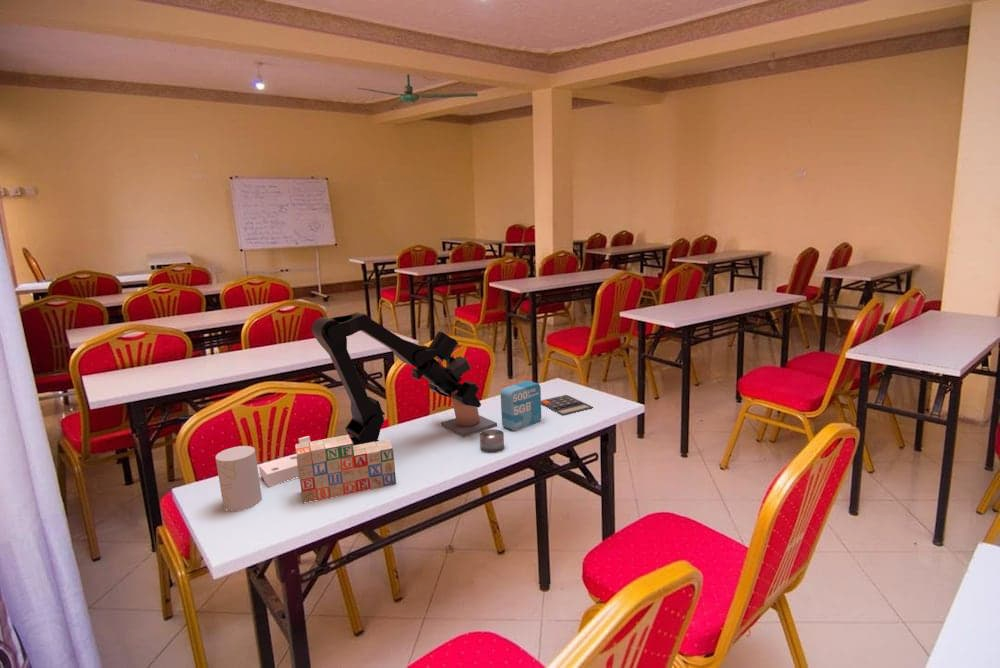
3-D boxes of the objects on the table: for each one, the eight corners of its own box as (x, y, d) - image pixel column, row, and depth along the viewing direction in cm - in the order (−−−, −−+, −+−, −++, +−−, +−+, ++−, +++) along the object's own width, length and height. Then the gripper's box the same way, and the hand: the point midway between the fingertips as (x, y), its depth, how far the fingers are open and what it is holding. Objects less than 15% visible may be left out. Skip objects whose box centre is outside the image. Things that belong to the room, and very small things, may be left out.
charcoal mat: (463, 437, 167) (463, 433, 167) (440, 425, 176) (440, 422, 176) (497, 426, 174) (496, 422, 174) (473, 415, 183) (473, 412, 183)
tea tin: (488, 454, 154) (487, 440, 154) (475, 447, 160) (475, 433, 159) (508, 448, 158) (508, 434, 157) (496, 441, 163) (495, 427, 162)
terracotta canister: (473, 427, 170) (467, 399, 167) (452, 426, 173) (446, 398, 171) (483, 416, 176) (478, 388, 173) (463, 414, 179) (457, 387, 176)
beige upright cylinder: (218, 503, 135) (210, 454, 133) (253, 490, 141) (246, 443, 138) (231, 515, 130) (223, 464, 127) (267, 501, 135) (260, 452, 133)
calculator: (566, 394, 198) (593, 406, 185) (566, 396, 198) (593, 409, 185) (536, 400, 193) (562, 414, 180) (536, 403, 193) (562, 417, 180)
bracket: (311, 462, 155) (308, 435, 154) (321, 471, 150) (318, 443, 148) (260, 478, 148) (256, 449, 146) (269, 488, 142) (264, 458, 141)
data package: (512, 432, 169) (510, 392, 166) (501, 428, 172) (499, 388, 170) (541, 420, 177) (540, 382, 174) (531, 417, 180) (530, 379, 177)
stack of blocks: (391, 474, 146) (387, 427, 144) (396, 484, 141) (392, 436, 138) (301, 492, 139) (294, 443, 136) (302, 504, 133) (295, 453, 131)
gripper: (471, 356, 160) (505, 386, 169) (435, 345, 175) (468, 373, 184) (448, 390, 157) (484, 419, 166) (413, 376, 172) (448, 403, 181)
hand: (471, 402), depth 174 cm, fingers open, 9 cm apart
